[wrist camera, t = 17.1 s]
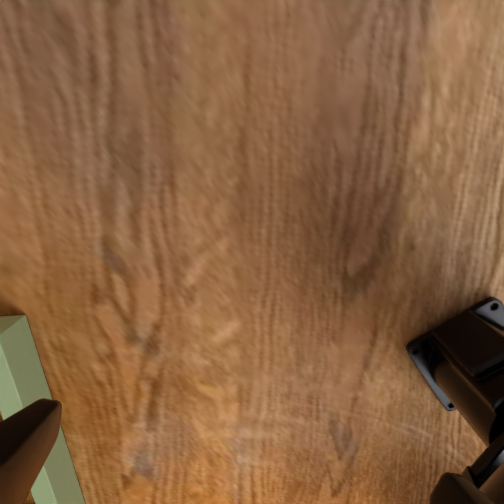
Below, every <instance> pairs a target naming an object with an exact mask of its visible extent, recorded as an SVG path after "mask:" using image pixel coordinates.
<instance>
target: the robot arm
mask: <svg viewBox="0 0 504 504" xmlns="http://www.w3.org/2000/svg"><path fill="white" fill-rule="evenodd" d="M492 304H494V305H493V306H492V307H491V305H492ZM414 348H417V349H416V350H414V351H413V349H414ZM406 351H407V353H408V354H409V356H410V357H411V359H412V360H413V362H414V363H415V365H416V366H417V368H418V369H419V371H420V372H421V374H422V375H423V377H424V378H425V380H426V381H427V383H428V384H429V386H430V387H431V389H432V390H433V392H434V393H435V395H436V396H437V398H438V399H439V401H440V402H441V404H442V405H443V406H444V408H445V409H446V410H448V411H453V410H455V409H457V410H458V411H459V412H460V414H461V415H462V416H463V417H464V419H465V420H466V421H467V422H468V424H469V425H470V426H471V427H472V429H473V430H474V431H475V432H476V434H477V435H478V436H479V437H480V439H481V440H482V441H483V442H484V443H485V445H486V446H487V448H486V449H485V450H484V452H483V453H482V454H481V455H480V456H479V457H478V458H477V460H476V461H475V462H474V463H473V464H472V465H471V466H467V468H466V469H465V470H464V471H463V472H462V475H459V474H454V473H449V472H446V473H443V474H442V476H441V477H440V479H439V481H438V482H437V484H436V486H435V487H434V489H433V491H432V493H431V495H430V504H504V305H503V303H502V302H501V301H500V300H498V299H497V298H495V297H489V298H486V299H485V300H483V301H481V302H479V303H478V304H476V305H474V306H472V307H471V308H469V309H467V310H465V311H464V312H462V313H460V314H459V315H457V316H455V317H453V318H452V319H450V320H448V321H446V322H445V323H443V324H441V325H439V326H438V327H436V328H434V329H432V330H431V331H429V332H427V333H425V334H424V335H422V336H420V337H418V338H417V339H415V340H413V341H411V342H410V343H408V344H407V346H406ZM61 409H62V405H61V402H60V401H57V400H51V399H46V398H42V399H39V400H37V401H35V402H33V403H32V404H30V405H28V406H26V407H25V408H23V409H21V410H20V411H18V412H16V413H15V414H13V415H11V416H10V417H8V418H6V419H5V420H3V421H1V422H0V504H23V503H24V502H25V500H26V498H27V496H28V494H29V492H30V490H31V488H32V486H33V484H34V482H35V480H36V479H37V477H38V475H39V473H40V471H41V469H42V467H43V465H44V463H45V461H46V459H47V457H48V455H49V454H50V452H51V450H52V448H53V446H54V444H55V442H56V440H57V437H58V434H59V430H60V420H61Z"/></svg>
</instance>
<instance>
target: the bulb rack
mask: <svg viewBox="0 0 504 504" xmlns="http://www.w3.org/2000/svg"><path fill="white" fill-rule="evenodd" d="M42 398H46V399H51V400H52V397H51V394H50V390H49V387H48V384H47V381H46V378H45V375H44V371H43V368H42V365H41V362H40V359H39V356H38V353H37V349H36V346H35V343H34V340H33V337H32V334H31V330H30V327H29V324H28V321H27V318H26V315H14V316H3V317H2V316H0V413H1V415H2V418H3V420H5V419H6V418H8V417H10V416H11V415H13V414H15V413H16V412H18V411H20V410H21V409H23V408H25V407H26V406H28V405H30V404H32V403H33V402H35V401H37V400H39V399H42ZM30 491H31V493H32V496H33V499H34V501H35V504H85V501H84V498H83V495H82V492H81V488H80V485H79V482H78V479H77V476H76V473H75V470H74V466H73V463H72V460H71V457H70V454H69V451H68V447H67V444H66V441H65V438H64V435H63V432H62V428H61V425H60V430H59V434H58V437H57V440H56V442H55V444H54V446H53V448H52V450H51V452H50V454H49V455H48V457H47V459H46V461H45V463H44V465H43V467H42V469H41V471H40V473H39V475H38V477H37V479H36V480H35V482H34V484H33V486H32V488H31V490H30Z"/></svg>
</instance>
